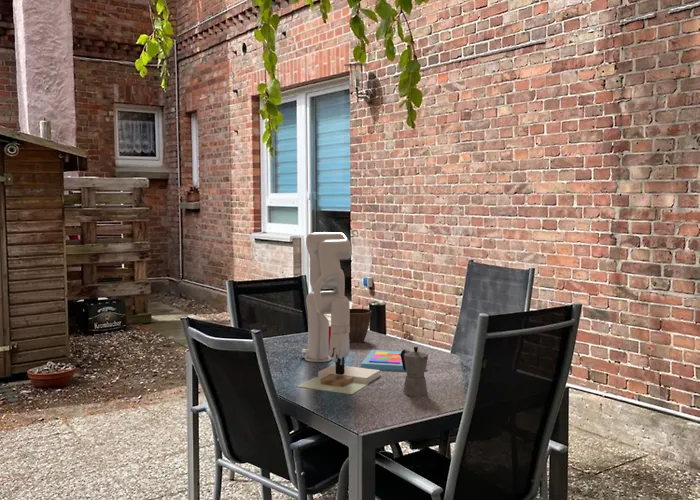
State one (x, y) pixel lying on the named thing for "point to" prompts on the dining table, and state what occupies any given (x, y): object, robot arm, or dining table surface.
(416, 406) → the dining table surface
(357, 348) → the dining table surface
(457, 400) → the dining table surface
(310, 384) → the mat
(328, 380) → the tile
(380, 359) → the tetris game
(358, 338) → the plant pot
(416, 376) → the coffeepot
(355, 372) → the board
